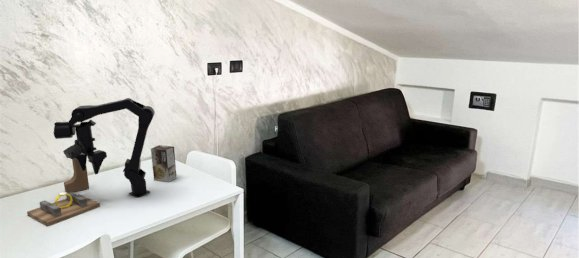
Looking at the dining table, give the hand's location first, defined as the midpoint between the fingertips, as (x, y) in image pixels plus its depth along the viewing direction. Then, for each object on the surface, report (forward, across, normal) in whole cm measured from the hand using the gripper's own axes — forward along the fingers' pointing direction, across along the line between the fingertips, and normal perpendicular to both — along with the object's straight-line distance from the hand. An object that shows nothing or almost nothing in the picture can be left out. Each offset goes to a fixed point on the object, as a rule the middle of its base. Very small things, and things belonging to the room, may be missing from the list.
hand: (90, 172), depth 160 cm
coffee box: (+12, +8, +31) cm, 35 cm away
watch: (+10, +2, -13) cm, 17 cm away
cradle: (+12, +2, -13) cm, 18 cm away
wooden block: (+12, -15, +1) cm, 19 cm away
